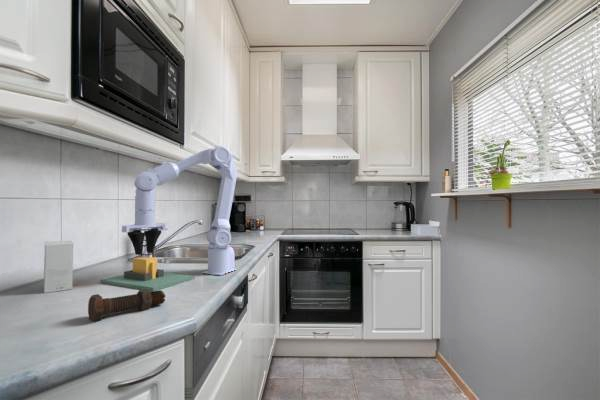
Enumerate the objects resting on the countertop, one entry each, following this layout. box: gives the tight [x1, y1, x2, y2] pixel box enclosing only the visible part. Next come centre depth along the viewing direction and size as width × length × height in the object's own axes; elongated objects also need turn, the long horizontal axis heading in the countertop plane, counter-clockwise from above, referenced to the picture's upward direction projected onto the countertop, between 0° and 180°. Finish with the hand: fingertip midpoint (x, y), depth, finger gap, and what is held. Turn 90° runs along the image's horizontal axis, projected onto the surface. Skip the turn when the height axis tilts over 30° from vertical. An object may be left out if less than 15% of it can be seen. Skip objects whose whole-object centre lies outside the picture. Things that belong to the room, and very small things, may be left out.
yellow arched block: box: [132, 256, 158, 279], centre depth 100 cm, size 4×7×6 cm, turn 66°
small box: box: [43, 240, 74, 294], centre depth 91 cm, size 8×6×13 cm
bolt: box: [87, 289, 166, 323], centre depth 72 cm, size 6×5×15 cm
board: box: [100, 268, 195, 292], centre depth 100 cm, size 16×22×3 cm
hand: (144, 253), depth 101 cm, fingers open, 4 cm apart
